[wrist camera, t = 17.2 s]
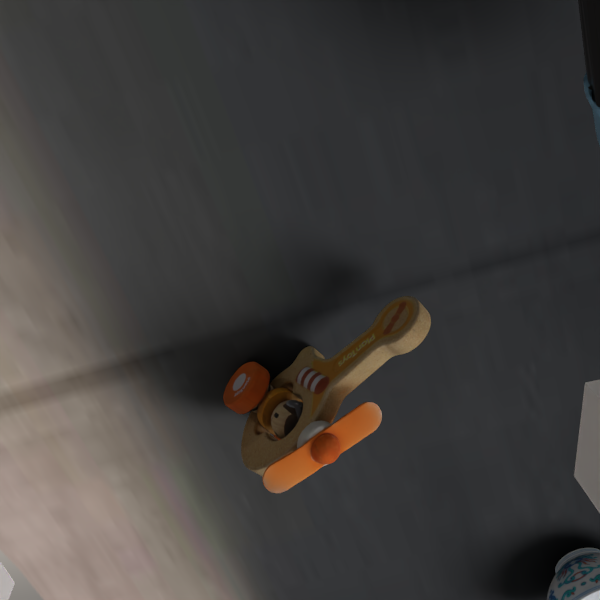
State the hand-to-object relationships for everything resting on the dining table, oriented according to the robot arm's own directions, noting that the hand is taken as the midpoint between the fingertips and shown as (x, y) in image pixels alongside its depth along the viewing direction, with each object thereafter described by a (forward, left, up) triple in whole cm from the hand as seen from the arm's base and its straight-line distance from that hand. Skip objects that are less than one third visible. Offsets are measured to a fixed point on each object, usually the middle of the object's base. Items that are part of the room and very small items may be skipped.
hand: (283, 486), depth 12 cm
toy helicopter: (-1, +21, -35) cm, 41 cm away
